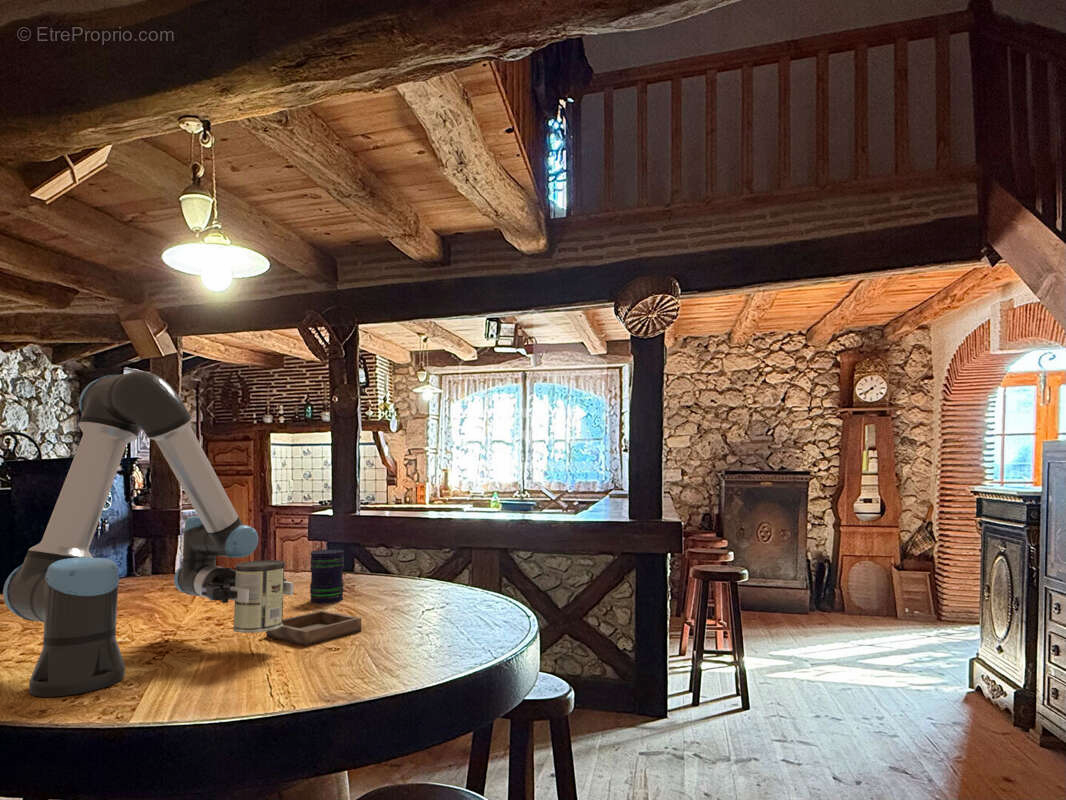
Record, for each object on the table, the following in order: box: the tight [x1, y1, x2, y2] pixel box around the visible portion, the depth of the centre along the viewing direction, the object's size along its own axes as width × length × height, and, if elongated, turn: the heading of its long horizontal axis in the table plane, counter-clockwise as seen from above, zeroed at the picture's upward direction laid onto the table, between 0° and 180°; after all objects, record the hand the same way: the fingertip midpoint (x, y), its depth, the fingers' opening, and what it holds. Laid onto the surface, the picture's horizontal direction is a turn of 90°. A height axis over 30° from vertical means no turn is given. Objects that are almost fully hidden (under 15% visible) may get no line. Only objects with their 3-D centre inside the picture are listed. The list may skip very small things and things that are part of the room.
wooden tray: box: [266, 609, 362, 647], centre depth 160 cm, size 16×16×3 cm
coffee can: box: [232, 559, 286, 634], centre depth 145 cm, size 10×10×14 cm
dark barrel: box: [309, 548, 345, 605], centre depth 200 cm, size 10×10×15 cm
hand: (270, 592), depth 143 cm, fingers closed on coffee can, 10 cm apart
